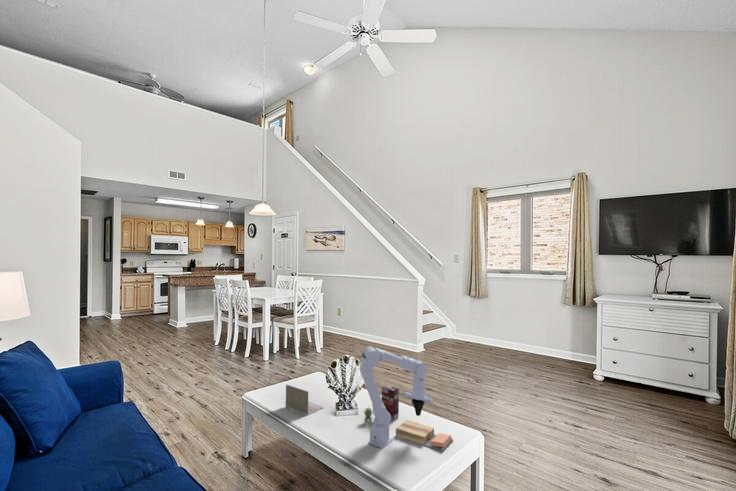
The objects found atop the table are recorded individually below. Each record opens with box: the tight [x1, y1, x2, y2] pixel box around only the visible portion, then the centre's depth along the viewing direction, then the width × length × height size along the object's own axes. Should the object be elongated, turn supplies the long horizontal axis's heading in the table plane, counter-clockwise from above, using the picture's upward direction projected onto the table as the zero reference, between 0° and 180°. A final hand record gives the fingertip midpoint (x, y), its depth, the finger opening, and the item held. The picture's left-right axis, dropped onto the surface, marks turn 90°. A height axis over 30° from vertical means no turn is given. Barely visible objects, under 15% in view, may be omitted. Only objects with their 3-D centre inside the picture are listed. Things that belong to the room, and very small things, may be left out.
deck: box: [395, 419, 435, 446], centre depth 179 cm, size 11×15×4 cm
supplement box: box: [381, 384, 400, 421], centre depth 199 cm, size 9×5×16 cm, turn 50°
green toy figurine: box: [362, 407, 374, 424], centre depth 192 cm, size 12×12×8 cm
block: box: [431, 432, 452, 448], centre depth 171 cm, size 9×6×2 cm, turn 145°
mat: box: [423, 434, 454, 453], centre depth 172 cm, size 12×9×1 cm
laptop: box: [285, 384, 324, 416], centre depth 210 cm, size 18×12×13 cm
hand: (418, 414), depth 178 cm, fingers closed
